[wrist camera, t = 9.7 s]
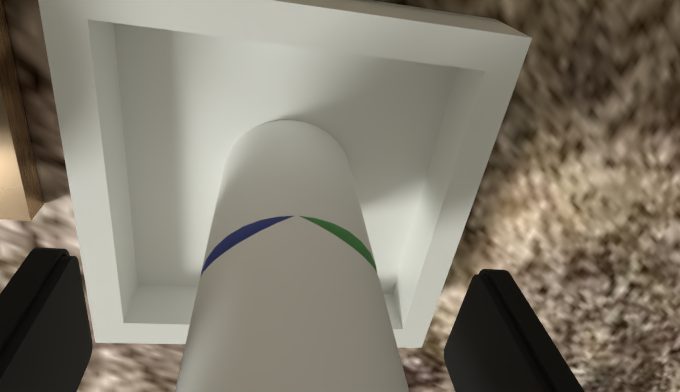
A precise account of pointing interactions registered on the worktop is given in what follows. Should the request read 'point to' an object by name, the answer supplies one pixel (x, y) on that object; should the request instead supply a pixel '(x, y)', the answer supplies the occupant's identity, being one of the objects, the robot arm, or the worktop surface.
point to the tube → (289, 276)
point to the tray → (259, 108)
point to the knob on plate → (15, 142)
